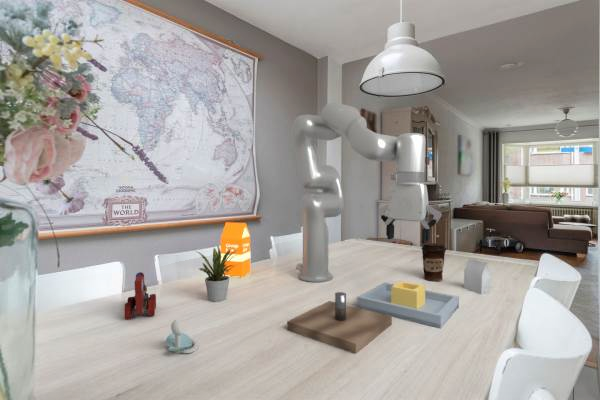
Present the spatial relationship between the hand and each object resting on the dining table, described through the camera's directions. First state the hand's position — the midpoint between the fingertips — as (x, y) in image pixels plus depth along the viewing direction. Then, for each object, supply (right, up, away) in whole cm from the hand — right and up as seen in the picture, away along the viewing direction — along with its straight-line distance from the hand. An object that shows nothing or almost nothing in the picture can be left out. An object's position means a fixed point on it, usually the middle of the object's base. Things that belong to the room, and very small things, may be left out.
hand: (407, 240), depth 91 cm
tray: (0, -19, 0) cm, 19 cm away
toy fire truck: (-72, -19, -4) cm, 74 cm away
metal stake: (-20, -17, -13) cm, 29 cm away
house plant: (-53, -18, +7) cm, 57 cm away
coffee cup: (+19, -18, +29) cm, 39 cm away
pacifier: (-54, -20, -24) cm, 62 cm away
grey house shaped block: (+28, -18, +16) cm, 37 cm away
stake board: (-20, -19, -13) cm, 31 cm away
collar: (0, -18, 0) cm, 18 cm away
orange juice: (-55, -18, +36) cm, 67 cm away
